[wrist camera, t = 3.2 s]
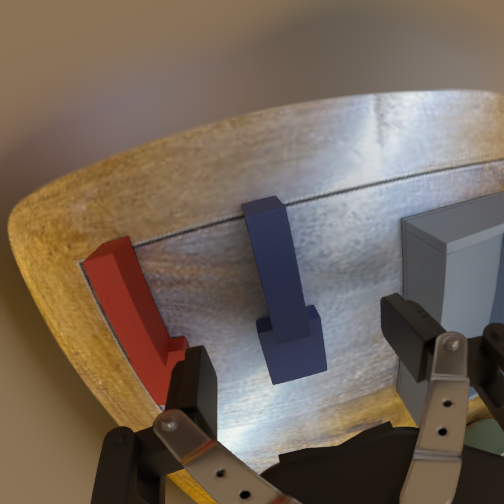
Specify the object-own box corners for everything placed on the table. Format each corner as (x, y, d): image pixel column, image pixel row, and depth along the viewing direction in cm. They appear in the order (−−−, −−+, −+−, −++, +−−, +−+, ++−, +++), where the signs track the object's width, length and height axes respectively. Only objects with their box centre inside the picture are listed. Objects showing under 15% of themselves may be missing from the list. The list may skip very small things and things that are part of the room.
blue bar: (223, 208, 15) (223, 221, 13) (293, 191, 15) (305, 201, 13) (270, 371, 19) (275, 398, 17) (322, 357, 19) (333, 383, 17)
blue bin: (400, 218, 16) (446, 243, 12) (503, 191, 16) (546, 206, 12) (396, 391, 22) (418, 428, 17) (482, 348, 22) (508, 375, 17)
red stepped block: (88, 248, 15) (68, 266, 13) (143, 231, 15) (129, 247, 13) (159, 391, 19) (154, 418, 17) (207, 384, 19) (206, 412, 17)
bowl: (489, 434, 31) (510, 465, 23) (411, 482, 32) (428, 519, 24) (510, 382, 26) (542, 419, 18) (415, 445, 27) (441, 495, 19)
